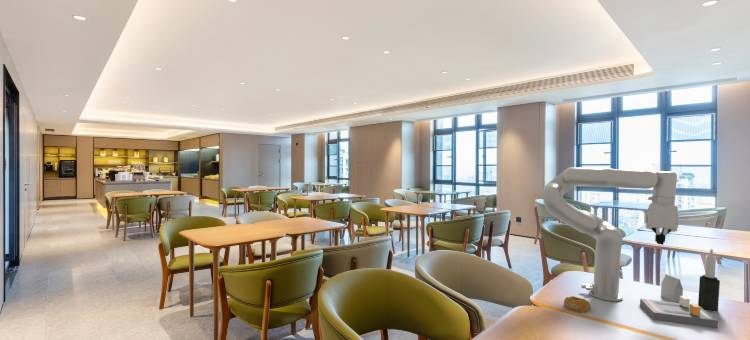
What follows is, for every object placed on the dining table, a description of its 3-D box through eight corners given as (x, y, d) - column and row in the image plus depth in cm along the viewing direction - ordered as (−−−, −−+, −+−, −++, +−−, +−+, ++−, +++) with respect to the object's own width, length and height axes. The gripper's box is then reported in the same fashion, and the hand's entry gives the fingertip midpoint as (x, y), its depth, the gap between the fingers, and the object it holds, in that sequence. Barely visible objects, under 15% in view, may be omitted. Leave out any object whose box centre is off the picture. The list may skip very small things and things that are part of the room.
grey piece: (674, 302, 158) (675, 279, 158) (660, 296, 165) (662, 274, 164) (682, 302, 159) (683, 279, 158) (668, 295, 165) (669, 274, 165)
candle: (719, 311, 149) (723, 251, 148) (704, 310, 150) (708, 250, 149) (710, 306, 154) (714, 248, 153) (696, 305, 155) (700, 247, 154)
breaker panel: (653, 319, 141) (654, 303, 140) (639, 305, 154) (640, 290, 154) (718, 328, 134) (719, 311, 134) (698, 312, 148) (699, 296, 147)
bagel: (595, 308, 150) (595, 297, 150) (584, 316, 143) (584, 304, 143) (570, 301, 158) (570, 290, 158) (558, 308, 151) (558, 296, 151)
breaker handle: (693, 315, 138) (693, 306, 138) (689, 311, 141) (689, 303, 141) (699, 316, 137) (700, 307, 137) (695, 312, 140) (696, 304, 140)
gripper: (644, 200, 153) (640, 243, 154) (689, 203, 147) (685, 248, 148) (639, 198, 160) (636, 239, 161) (682, 201, 154) (678, 244, 155)
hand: (659, 243), depth 155 cm, fingers closed
